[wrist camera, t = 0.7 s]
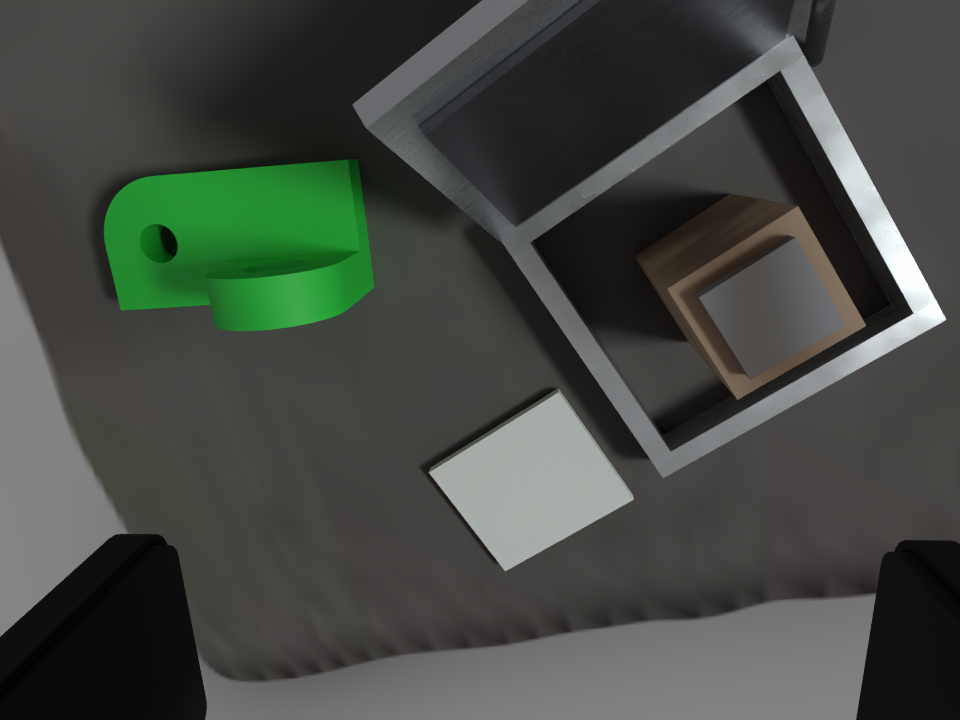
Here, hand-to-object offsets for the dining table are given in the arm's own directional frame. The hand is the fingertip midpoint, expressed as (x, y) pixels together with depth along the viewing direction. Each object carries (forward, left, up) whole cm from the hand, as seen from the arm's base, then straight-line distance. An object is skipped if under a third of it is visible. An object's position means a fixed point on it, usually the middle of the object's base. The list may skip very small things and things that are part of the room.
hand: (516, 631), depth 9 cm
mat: (+6, +8, -24) cm, 26 cm away
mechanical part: (+10, -10, -24) cm, 28 cm away
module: (-8, +4, -24) cm, 26 cm away
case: (-8, +4, -24) cm, 25 cm away
